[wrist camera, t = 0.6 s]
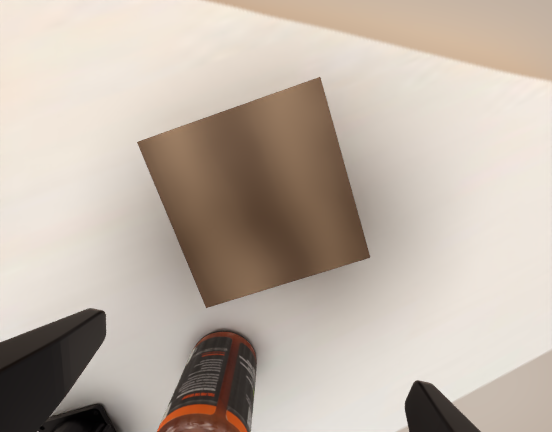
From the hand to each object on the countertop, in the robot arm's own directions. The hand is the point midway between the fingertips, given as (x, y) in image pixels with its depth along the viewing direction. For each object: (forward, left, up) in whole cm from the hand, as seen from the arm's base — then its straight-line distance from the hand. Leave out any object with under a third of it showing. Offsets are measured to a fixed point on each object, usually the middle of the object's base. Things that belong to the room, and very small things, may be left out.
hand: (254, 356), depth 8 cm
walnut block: (0, +3, -15) cm, 15 cm away
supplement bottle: (-8, -10, -15) cm, 19 cm away
